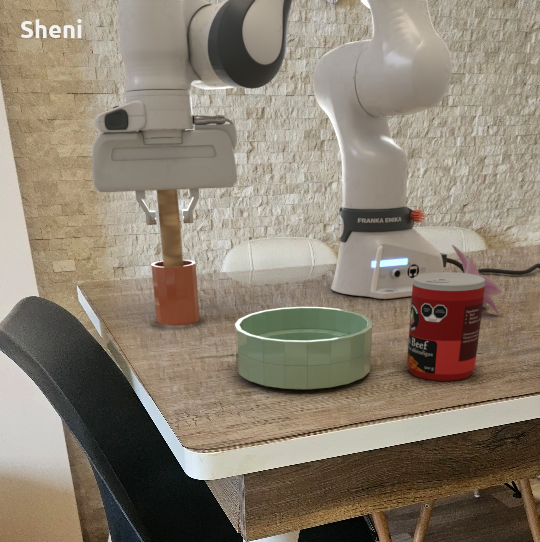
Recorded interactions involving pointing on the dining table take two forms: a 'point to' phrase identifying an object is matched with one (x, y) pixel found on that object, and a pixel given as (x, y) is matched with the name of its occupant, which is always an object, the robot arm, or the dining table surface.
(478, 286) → the canned food
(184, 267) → the holder
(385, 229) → the robot arm
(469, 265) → the lily
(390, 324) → the dining table surface
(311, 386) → the bowl
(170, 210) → the stick
